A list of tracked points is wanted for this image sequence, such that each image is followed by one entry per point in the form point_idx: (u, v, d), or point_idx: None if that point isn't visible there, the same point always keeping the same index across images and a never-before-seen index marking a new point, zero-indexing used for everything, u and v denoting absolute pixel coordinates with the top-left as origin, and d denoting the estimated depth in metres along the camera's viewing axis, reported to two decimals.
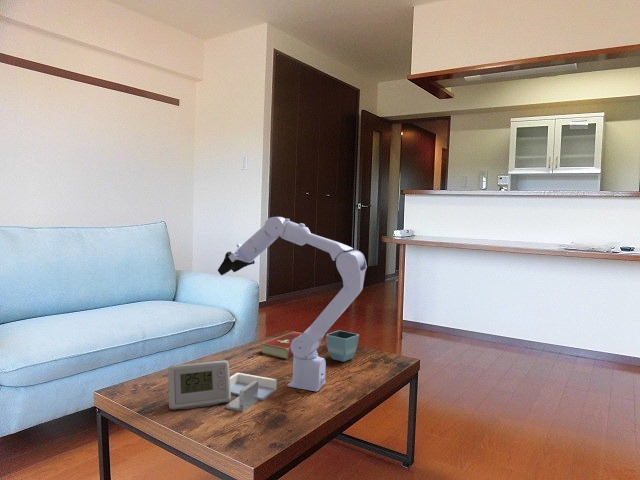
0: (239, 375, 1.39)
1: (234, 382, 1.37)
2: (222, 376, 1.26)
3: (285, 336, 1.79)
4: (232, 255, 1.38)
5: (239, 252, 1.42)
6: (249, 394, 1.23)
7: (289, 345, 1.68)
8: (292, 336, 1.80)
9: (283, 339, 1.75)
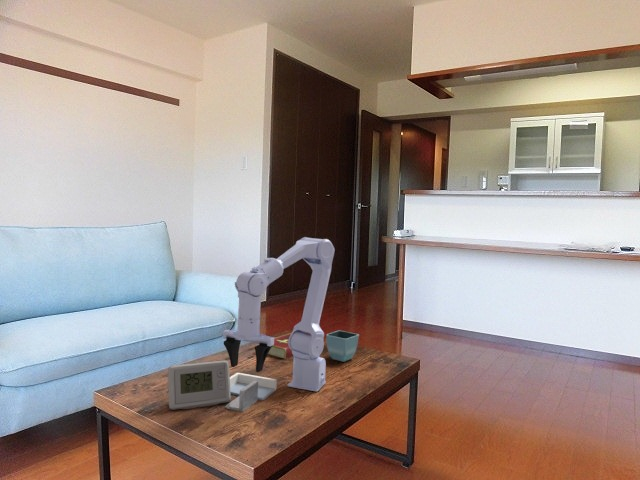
0: (239, 375, 1.39)
1: (234, 382, 1.37)
2: (222, 376, 1.25)
3: (286, 336, 1.80)
4: (271, 340, 1.20)
5: (256, 337, 1.21)
6: (249, 394, 1.23)
7: (288, 345, 1.68)
8: None
9: (283, 339, 1.76)
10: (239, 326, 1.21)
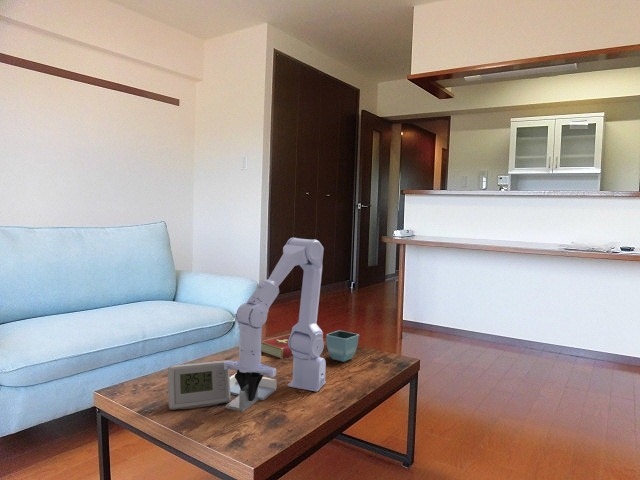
0: None
1: (234, 382, 1.37)
2: (222, 376, 1.25)
3: (287, 336, 1.80)
4: (273, 371, 1.21)
5: (258, 368, 1.22)
6: None
7: (285, 345, 1.68)
8: None
9: (283, 339, 1.76)
10: (241, 358, 1.21)
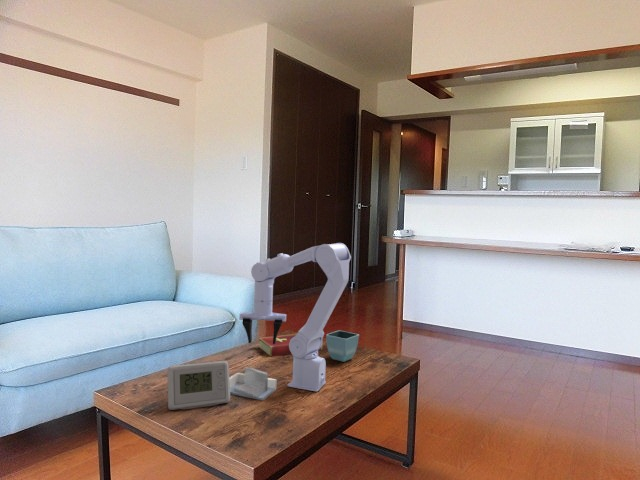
0: (239, 375, 1.39)
1: (234, 382, 1.37)
2: (221, 377, 1.25)
3: (291, 336, 1.80)
4: (285, 316, 1.47)
5: (272, 315, 1.46)
6: None
7: (279, 344, 1.69)
8: None
9: (284, 338, 1.77)
10: (258, 307, 1.45)
